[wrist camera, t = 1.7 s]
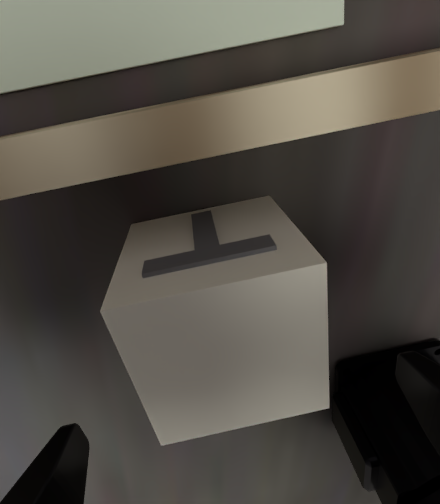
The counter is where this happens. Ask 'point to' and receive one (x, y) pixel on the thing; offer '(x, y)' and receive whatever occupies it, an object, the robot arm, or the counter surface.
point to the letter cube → (221, 319)
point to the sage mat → (139, 33)
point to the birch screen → (219, 123)
